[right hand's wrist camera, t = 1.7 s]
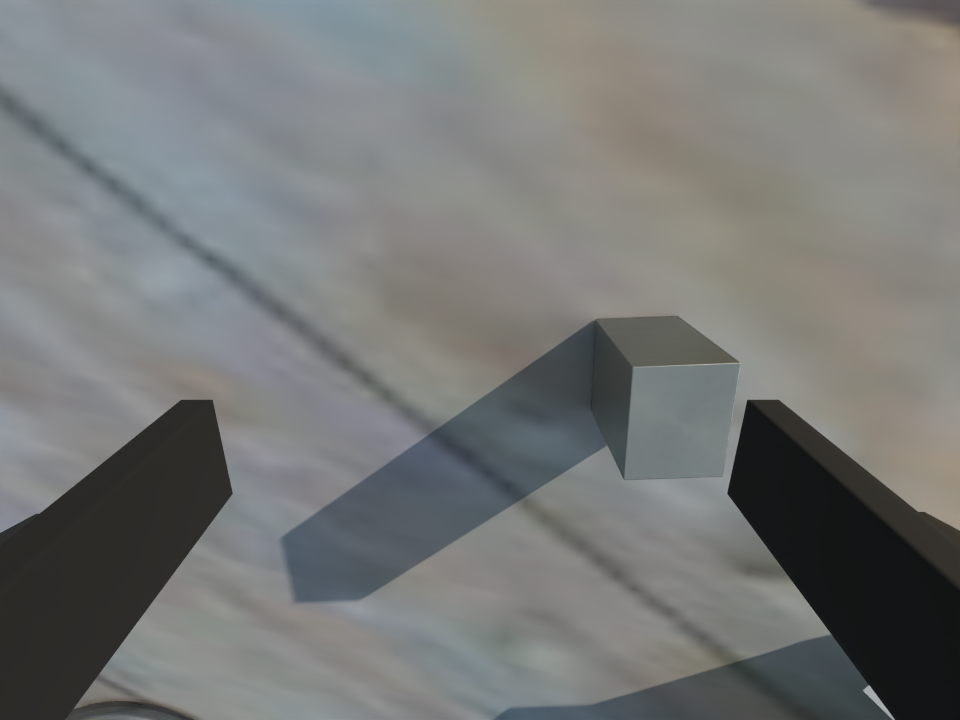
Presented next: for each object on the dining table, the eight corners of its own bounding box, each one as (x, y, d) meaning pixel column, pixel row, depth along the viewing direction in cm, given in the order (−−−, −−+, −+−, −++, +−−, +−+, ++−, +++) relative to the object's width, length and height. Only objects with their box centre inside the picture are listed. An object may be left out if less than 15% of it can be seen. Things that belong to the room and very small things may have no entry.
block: (678, 315, 29) (741, 362, 22) (668, 407, 31) (723, 477, 24) (595, 318, 29) (632, 366, 22) (590, 410, 31) (623, 480, 24)
